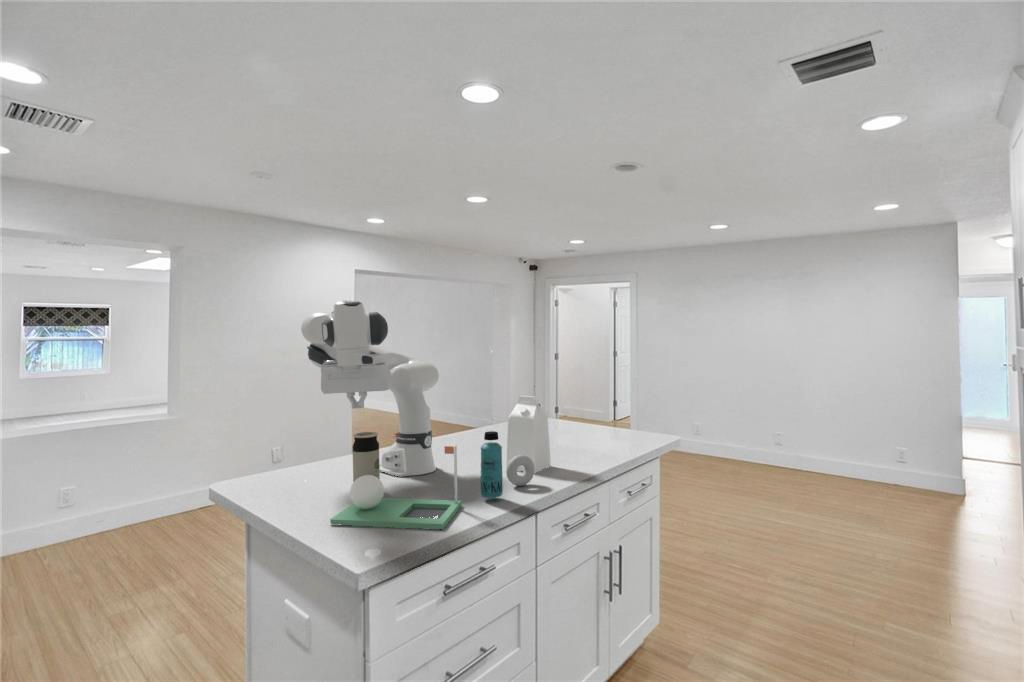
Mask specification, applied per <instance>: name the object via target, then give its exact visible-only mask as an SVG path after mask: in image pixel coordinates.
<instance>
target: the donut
mask: <svg viewBox="0 0 1024 682" xmlns="http://www.w3.org/2000/svg"><path fill="white" fill-rule="evenodd" d="M506 465H507V464H506ZM521 465H523V466H524V472H522V474H520V475H519V474H518V473H517V472H518V471H517V469H518V467H519V466H521ZM505 471H506V473H505V474H506V478H507V480H508V481H509V483H511V485H514V486H516V487H522V486H525V485H527V484H528V483H530V482H531V481H532V479H533V478H534V475H535V474H534V471H535V467H534V463H533V461H532V459H531V458H530V457H528V456H526V455H517V456H515V457H514V458H512V459H511V460H510V462H509V463H508V465H507V469H506V470H505Z"/></svg>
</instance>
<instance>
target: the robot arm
mask: <svg viewBox="0 0 1024 682" xmlns="http://www.w3.org/2000/svg"><path fill="white" fill-rule="evenodd" d="M300 330H301V334H302V336H303V338H304V339H305V340H306V341H308V342H309V343H310V345H309V346H308V345H307V346H306V347H307V348H306V349H308V350H307V357H308V359H309V360H310V361H311V363H312V364H313V365H314V366H315V367H318V368H320V374H321V376H320V390H321V392H322V394H323V395H329V394H330V395H331V394H346V397H347V399H348V401H349V402H350V403H351V405H350V406H351V409H352V410H353V409H357V410H358V409H364V408H365V400H366V399H367V396H368V392H385V391H388V390H389V391H391V392H392V393H393V395H394V398H395V401H396V405H397V410H398V419H399V420H398V423H399V424H398V426H399V428H398V429H399V431H398V432H397V433H393V435H394V436H393V438H396V439H395V442H394V443H393V444H392V445H390V446H389V448H387V449H386V450H385V451H384V452H383V453H382V455H381V463H379V470H380V471H381V472H380V473H382V472H385V473H384V474H386V473H388V474H387V475H390V474H391V475H390V476H394V475H395V476H394V477H397V476H398V478H401V477H407V476H409V477H410V476H420V475H426V474H430V473H432V472H434V471H436V469H437V467H436V465H435V461H434V455H433V448H432V443H433V433H432V430H431V429H432V428H431V427H432V426H431V409H430V407H429V405H428V404H427V402H426V400H425V399H426V398H425V395H424V392H425V391H427V392H428V391H429V390H430V389H432V388H433V387H434V386H435V385H437V383H438V382H439V377H440V376H439V370H438V369H437V367H436V366H435V365H434V364H432V363H429V362H426V361H423V360H419V359H416V358H413V357H411V356H408V355H404V354H401V353H398V352H394V351H392V350H389V349H388V348H385V347H382V346H380V345H381V344H382V343H383V342H384V341H385V340H386V338H387V337H388V333H389V325H388V321H387V320H386V318H385V317H384V316H383V315H382V314H381V313H379V312H378V311H372V312H366V310H365V307H364V303H363V302H360V301H359V300H358V301H357V300H341V301H337V302H335V303H334V305H333V311H332V312H331V313H328V312H314V313H311V314H309V315H308V316H306V317H305V318H304V319H303V320H302V323H301V327H300ZM356 393H358V396H359V400H358V401H357V399H356V398H355V396H356Z"/></svg>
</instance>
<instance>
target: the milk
mask: <svg viewBox="0 0 1024 682" xmlns="http://www.w3.org/2000/svg"><path fill="white" fill-rule="evenodd" d="M507 420H508V421H507V439H506V440H507V443H506V470H507V465H508V463H509V462H510V460H511V459H512V458H514V457H515V456H517V455H526V456H528V457H530V458H531V459H532V461H533V463H534V467H535V471H534V473H536V472H538V471H540V470H542V469H544V468H546V467H548V466H550V467H552V463H551V462H552V461H551V451H550V434H549V421H548V420H549V419H548V415H547V413H546V412H545V410H544V409H543V408H542V407H541V406H540V405H539V401H538V400H537V397H536V396H534V395H533V396H531V395H519V397H518V400H517V403H516V405H515V406H514V408H513V409H512V411H511V412H510V413H509V416H508V418H507ZM548 468H549V467H548ZM546 469H547V468H546ZM517 470H519V471H518V472H520V471H524V466H523V465H521V466H519V467H518V469H517ZM544 470H545V469H544ZM542 471H543V470H542ZM540 472H541V471H540ZM538 473H539V472H538ZM536 474H537V473H536Z"/></svg>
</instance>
